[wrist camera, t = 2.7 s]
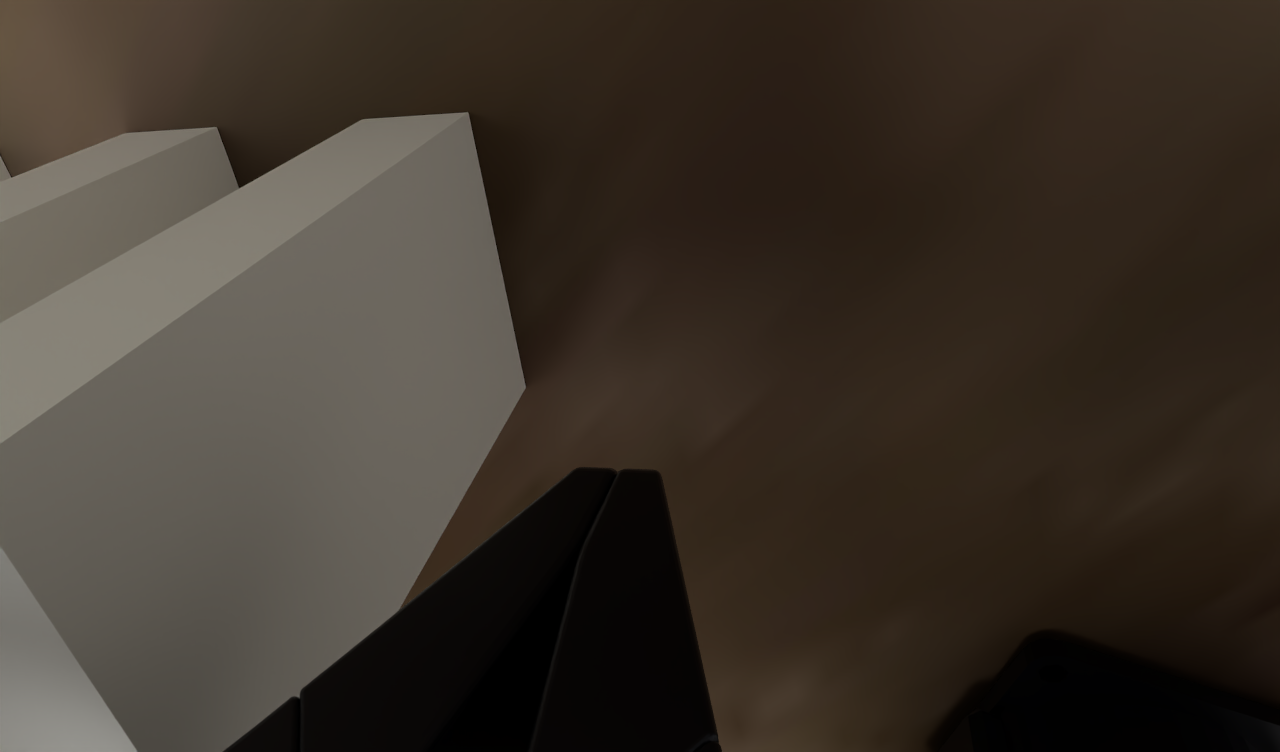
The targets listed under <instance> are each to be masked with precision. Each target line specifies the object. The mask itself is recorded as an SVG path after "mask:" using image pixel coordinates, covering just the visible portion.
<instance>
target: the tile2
mask: <svg viewBox="0 0 1280 752" xmlns="http://www.w3.org/2000/svg"><path fill="white" fill-rule="evenodd" d="M238 189H239V186H238V184H237V181H236V178H235V175H234V173H233V170H232V167H231V165H230V162H229V159H228V156H227V154H226V151H225V148H224V145H223V143H222V140H221V137H220V134H219V132H218V129H217V127H210V128H194V129H179V130H164V131H149V132H133V133H124V134H122V135H119V136H117V137H114V138H111V139H109V140H106V141H104V142H101V143H99V144H96V145H94V146H91V147H88V148H86V149H83V150H81V151H78V152H76V153H73V154H71V155H68V156H66V157H63V158H60V159H58V160H55V161H53V162H50V163H48V164H45V165H43V166H40V167H37V168H35V169H32V170H30V171H27V172H25V173H22V174H20V175H17V176H14V177H12V178H9V179H7V180H4V181H2V182H0V323H1V322H3V321H5V320H7V319H9V318H10V317H12V316H14V315H16V314H17V313H19V312H21V311H23V310H25V309H26V308H28V307H30V306H32V305H33V304H35V303H37V302H39V301H40V300H42V299H44V298H46V297H48V296H49V295H51V294H53V293H55V292H56V291H58V290H60V289H62V288H64V287H65V286H67V285H69V284H71V283H72V282H74V281H76V280H78V279H80V278H81V277H83V276H85V275H87V274H88V273H90V272H92V271H94V270H96V269H97V268H99V267H101V266H103V265H104V264H106V263H108V262H110V261H112V260H113V259H115V258H117V257H119V256H120V255H122V254H124V253H126V252H128V251H129V250H131V249H133V248H135V247H136V246H138V245H140V244H142V243H144V242H145V241H147V240H149V239H151V238H152V237H154V236H156V235H158V234H159V233H161V232H163V231H165V230H167V229H168V228H170V227H172V226H174V225H175V224H177V223H179V222H181V221H183V220H184V219H186V218H188V217H190V216H191V215H193V214H195V213H197V212H199V211H200V210H202V209H204V208H206V207H207V206H209V205H211V204H213V203H215V202H216V201H218V200H220V199H222V198H223V197H225V196H227V195H229V194H231V193H232V192H234V191H236V190H238Z"/></svg>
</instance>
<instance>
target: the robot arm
mask: <svg viewBox="0 0 1280 752" xmlns="http://www.w3.org/2000/svg"><path fill="white" fill-rule="evenodd" d="M1052 664H1053V665H1052ZM1047 665H1051V666H1047ZM222 752H722V749H721V746H720V745H719V741H718V733H717V729H716V724H715V720H714V715H713V710H712V706H711V701H710V696H709V692H708V687H707V683H706V678H705V673H704V669H703V664H702V660H701V655H700V650H699V646H698V641H697V637H696V632H695V627H694V623H693V618H692V614H691V609H690V604H689V600H688V595H687V591H686V586H685V581H684V577H683V572H682V567H681V563H680V558H679V554H678V549H677V544H676V540H675V535H674V531H673V526H672V521H671V517H670V512H669V508H668V503H667V498H666V494H665V489H664V485H663V480H662V476H661V474H660V472H658V471H657V470H648V469H623V470H621V471H619V472H617V471H616V470H614V469H612V468H594V467H579V468H576V469H574V470H573V471H571V472H570V473H569V474H567V475H566V476H565V477H564V478H562V479H561V480H560V481H559V482H558V483H556V484H555V485H554V486H553V487H551V488H550V489H549V490H548V491H546V492H545V493H544V494H543V495H541V496H540V497H539V498H538V499H536V500H535V501H534V502H533V503H531V504H530V505H529V506H528V507H527V508H525V509H524V510H523V511H522V512H520V513H519V514H518V515H517V516H515V517H514V518H513V519H512V520H510V521H509V522H508V523H507V524H505V525H504V526H503V527H502V528H500V529H499V530H498V531H497V532H496V533H494V534H493V535H492V536H491V537H489V538H488V539H487V540H486V541H484V542H483V543H482V544H481V545H479V546H478V547H477V548H476V549H474V550H473V551H472V552H471V553H469V554H468V555H467V556H466V557H465V558H463V559H462V560H461V561H460V562H458V563H457V564H456V565H455V566H453V567H452V568H451V569H450V570H448V571H447V572H446V573H445V574H443V575H442V576H441V577H440V578H438V579H437V580H436V581H435V582H434V583H432V584H431V585H430V586H429V587H427V588H426V589H425V590H424V591H422V592H421V593H420V594H419V595H417V596H416V597H415V598H414V599H412V600H411V601H410V602H409V603H407V604H406V605H405V606H404V607H403V608H401V609H400V610H399V611H398V612H396V613H395V614H394V615H393V616H391V617H390V618H389V619H388V620H386V621H385V622H384V623H383V624H381V625H380V626H379V627H378V628H377V629H375V630H374V631H373V632H372V633H370V634H369V635H368V636H367V637H365V638H364V639H363V640H362V641H360V642H359V643H358V644H357V645H355V646H354V647H353V648H352V649H350V650H349V651H348V652H347V653H346V654H344V655H343V656H342V657H341V658H339V659H338V660H337V661H336V662H334V663H333V664H332V665H331V666H329V667H328V668H327V669H326V670H324V671H323V672H322V673H321V674H319V675H318V676H317V677H316V678H315V679H313V680H312V681H311V682H310V683H308V684H307V685H306V686H305V687H303V688H302V689H301V691H300V698H299V697H296V696H293V697H291V698H289V699H288V700H287V701H286V702H284V703H283V704H282V705H281V706H279V707H278V708H277V709H276V710H274V711H273V712H272V713H271V714H269V715H268V716H267V717H266V718H264V719H263V720H262V721H261V722H259V723H258V724H257V725H256V726H255V727H253V728H252V729H251V730H249V731H248V732H247V733H245V734H244V735H243V736H242V737H240V738H239V739H238V740H236V741H235V742H234V743H233V744H231V745H230V746H229V747H227V748H226V749H225V750H224V751H222ZM938 752H1280V710H1277V709H1274V708H1271V707H1268V706H1265V705H1262V704H1259V703H1255V702H1252V701H1249V700H1246V699H1243V698H1240V697H1237V696H1234V695H1230V694H1227V693H1224V692H1221V691H1218V690H1215V689H1212V688H1208V687H1205V686H1202V685H1199V684H1196V683H1193V682H1190V681H1187V680H1183V679H1180V678H1177V677H1174V676H1171V675H1168V674H1165V673H1162V672H1158V671H1155V670H1152V669H1149V668H1146V667H1143V666H1140V665H1136V664H1133V663H1130V662H1127V661H1124V660H1121V659H1118V658H1115V657H1111V656H1108V655H1105V654H1102V653H1099V652H1096V651H1093V650H1090V649H1086V648H1083V647H1080V646H1077V645H1074V644H1071V643H1068V642H1064V641H1061V640H1055V639H1042V640H1038V641H1035V642H1032V643H1030V644H1029V645H1027V646H1026V647H1025V648H1024V649H1023V650H1022V651H1021V652H1020V654H1019V655H1018V656H1017V657H1016V659H1015V660H1014V661H1013V662H1012V664H1011V665H1010V666H1009V667H1008V669H1007V670H1006V671H1005V672H1004V674H1003V675H1002V676H1001V678H1000V679H999V680H998V681H997V683H996V684H995V685H994V686H993V688H992V689H991V690H990V691H989V693H988V694H987V695H986V696H985V698H984V699H983V700H982V701H981V703H980V704H979V705H978V706H977V708H976V709H975V710H974V711H973V712H972V713H970V714H969V715H967V716H966V717H965V718H964V719H963V720H962V722H961V723H960V724H959V726H958V727H957V728H956V729H955V731H954V732H953V733H952V734H951V736H950V737H949V738H948V739H947V741H946V742H945V743H944V745H943V746H942V747H941V748H940V750H939V751H938Z"/></svg>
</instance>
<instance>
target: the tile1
mask: <svg viewBox="0 0 1280 752" xmlns="http://www.w3.org/2000/svg"><path fill="white" fill-rule="evenodd" d="M525 388H526V385H525V381H524V376H523V371H522V366H521V362H520V357H519V352H518V347H517V342H516V338H515V333H514V328H513V323H512V319H511V314H510V309H509V304H508V299H507V295H506V290H505V285H504V280H503V275H502V271H501V266H500V261H499V256H498V252H497V247H496V242H495V237H494V232H493V228H492V223H491V218H490V213H489V209H488V204H487V199H486V194H485V189H484V185H483V180H482V175H481V170H480V166H479V161H478V156H477V151H476V146H475V142H474V137H473V132H472V127H471V122H470V118H469V113H468V112H464V113H449V114H434V115H418V116H403V117H388V118H373V119H362V120H360V121H358V122H357V123H355V124H353V125H351V126H350V127H348V128H346V129H344V130H342V131H341V132H339V133H337V134H335V135H334V136H332V137H330V138H328V139H326V140H325V141H323V142H321V143H319V144H318V145H316V146H314V147H312V148H310V149H309V150H307V151H305V152H303V153H302V154H300V155H298V156H296V157H294V158H293V159H291V160H289V161H287V162H286V163H284V164H282V165H280V166H278V167H277V168H275V169H273V170H271V171H270V172H268V173H266V174H264V175H263V176H261V177H259V178H257V179H255V180H254V181H252V182H250V183H248V184H247V185H245V186H243V187H241V188H239V189H238V190H236V191H234V192H232V193H231V194H229V195H227V196H225V197H223V198H222V199H220V200H218V201H216V202H215V203H213V204H211V205H209V206H207V207H206V208H204V209H202V210H200V211H199V212H197V213H195V214H193V215H191V216H190V217H188V218H186V219H184V220H183V221H181V222H179V223H177V224H175V225H174V226H172V227H170V228H168V229H167V230H165V231H163V232H161V233H159V234H158V235H156V236H154V237H152V238H151V239H149V240H147V241H145V242H144V243H142V244H140V245H138V246H136V247H135V248H133V249H131V250H129V251H128V252H126V253H124V254H122V255H120V256H119V257H117V258H115V259H113V260H112V261H110V262H108V263H106V264H104V265H103V266H101V267H99V268H97V269H96V270H94V271H92V272H90V273H88V274H87V275H85V276H83V277H81V278H80V279H78V280H76V281H74V282H72V283H71V284H69V285H67V286H65V287H64V288H62V289H60V290H58V291H56V292H55V293H53V294H51V295H49V296H48V297H46V298H44V299H42V300H40V301H39V302H37V303H35V304H33V305H32V306H30V307H28V308H26V309H25V310H23V311H21V312H19V313H17V314H16V315H14V316H12V317H10V318H9V319H7V320H5V321H3V322H1V323H0V752H222V751H224V750H225V749H226V748H227V747H229V746H230V745H231V744H233V743H234V742H235V741H236V740H238V739H239V738H240V737H242V736H243V735H244V734H245V733H247V732H248V731H249V730H251V729H252V728H253V727H255V726H256V725H257V724H258V723H259V722H261V721H262V720H263V719H264V718H266V717H267V716H268V715H269V714H271V713H272V712H273V711H274V710H276V709H277V708H278V707H279V706H281V705H282V704H283V703H284V702H286V701H287V700H288V699H289V698H291V697H293V696H296V697H299V698H300V691H301V689H302V688H303V687H305V686H306V685H307V684H308V683H310V682H311V681H312V680H313V679H315V678H316V677H317V676H318V675H319V674H321V673H322V672H323V671H324V670H326V669H327V668H328V667H329V666H331V665H332V664H333V663H334V662H336V661H337V660H338V659H339V658H341V657H342V656H343V655H344V654H346V653H347V652H348V651H349V650H350V649H352V648H353V647H354V646H355V645H357V644H358V643H359V642H360V641H362V640H363V639H364V638H365V637H367V636H368V635H369V634H370V633H372V632H373V631H374V630H375V629H377V628H378V627H379V626H380V625H381V624H383V623H384V622H385V621H386V620H388V619H389V618H390V617H391V616H393V615H394V614H395V613H396V612H398V610H399V609H400V607H401V605H402V603H403V602H404V600H405V598H406V596H407V595H408V593H409V591H410V589H411V588H412V586H413V584H414V582H415V581H416V579H417V577H418V575H419V574H420V572H421V570H422V568H423V567H424V565H425V563H426V561H427V560H428V558H429V556H430V554H431V553H432V551H433V549H434V547H435V546H436V544H437V542H438V540H439V539H440V537H441V535H442V533H443V532H444V530H445V528H446V526H447V525H448V523H449V521H450V519H451V518H452V516H453V514H454V512H455V511H456V509H457V507H458V505H459V504H460V502H461V500H462V498H463V497H464V495H465V493H466V491H467V490H468V488H469V486H470V484H471V483H472V481H473V479H474V477H475V476H476V474H477V472H478V470H479V469H480V467H481V465H482V463H483V462H484V460H485V458H486V456H487V455H488V453H489V451H490V450H491V448H492V446H493V444H494V443H495V441H496V439H497V437H498V436H499V434H500V432H501V430H502V429H503V427H504V425H505V423H506V422H507V420H508V418H509V416H510V415H511V413H512V411H513V409H514V408H515V406H516V404H517V402H518V401H519V399H520V397H521V395H522V394H523V392H524V390H525Z"/></svg>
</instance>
